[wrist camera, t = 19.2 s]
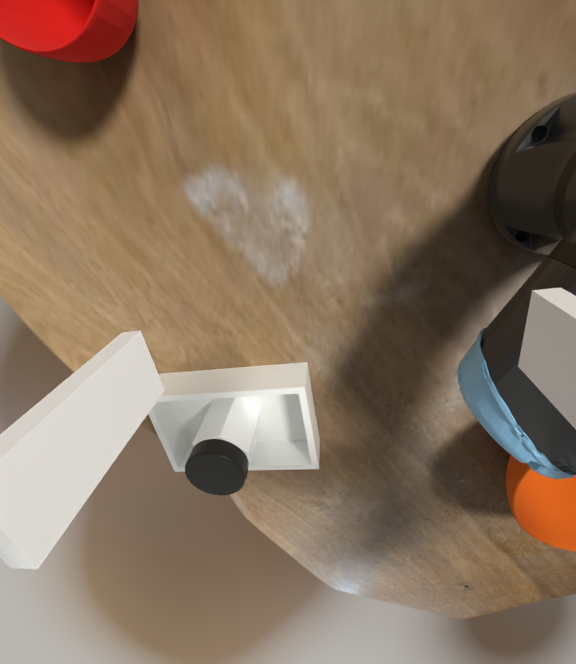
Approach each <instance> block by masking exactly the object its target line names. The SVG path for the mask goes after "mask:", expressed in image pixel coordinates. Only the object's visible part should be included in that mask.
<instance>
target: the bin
mask: <svg viewBox="0 0 576 664" xmlns="http://www.w3.org/2000/svg"><path fill="white" fill-rule="evenodd" d="M159 377H160V380H161V382H162V384H163V387H164V389H165V391H164V392H163V393H162V395H161V396H160V398H159V399H158V400H157V402H156V403H155V405H154V406H153V407H152V409H151V410H150V412H149V413H148V415H149V417H150V419H151V421H152V424H153V426H154V428H155V430H156V432H157V435H158V437H159V439H160V441H161V443H162V445H163V447H164V449H165V452H166V454H167V456H168V458H169V461H170V463H171V465H172V467H173V469H174V471H175V472H185V464H186V462H187V460H188V458H189V456H190V453H191V451H192V449H193V448H192V443H193V441H194V439H195V436H196V434H197V432H198V430H199V428H200V426H201V424H202V422H203V420H204V418H205V416H206V414H207V412H208V409H209V407H210V405H211V403H212V401H213V400H214V399H217V398H234V397H246V398H248V399H249V400H251V401H253V402H254V403H256V404H258V405H259V406H261V416H260V428H259V432H258V436H257V440H256V444H255V447H254V451H253V455H252V459H251V463H250V467H249V470H293V469H319V450H320V437H319V431H318V425H317V419H316V412H315V406H314V400H313V394H312V387H311V381H310V375H309V369H308V362H304V363H291V364H278V365H265V366H252V367H239V368H226V369H213V370H200V371H187V372H174V373H161V374H159Z"/></svg>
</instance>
